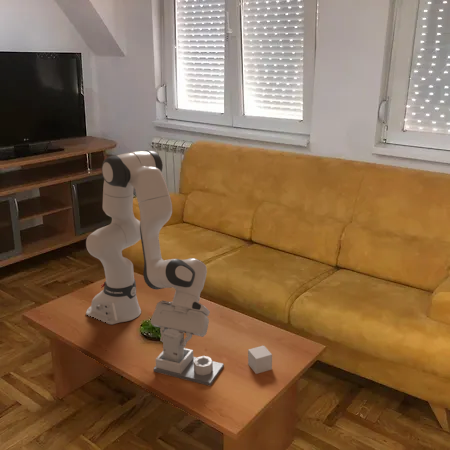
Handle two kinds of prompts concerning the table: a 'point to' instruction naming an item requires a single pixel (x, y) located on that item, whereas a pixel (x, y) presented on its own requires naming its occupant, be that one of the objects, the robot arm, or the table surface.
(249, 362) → the light grey cube
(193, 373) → the socket holder
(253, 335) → the table surface
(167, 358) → the skincare box
